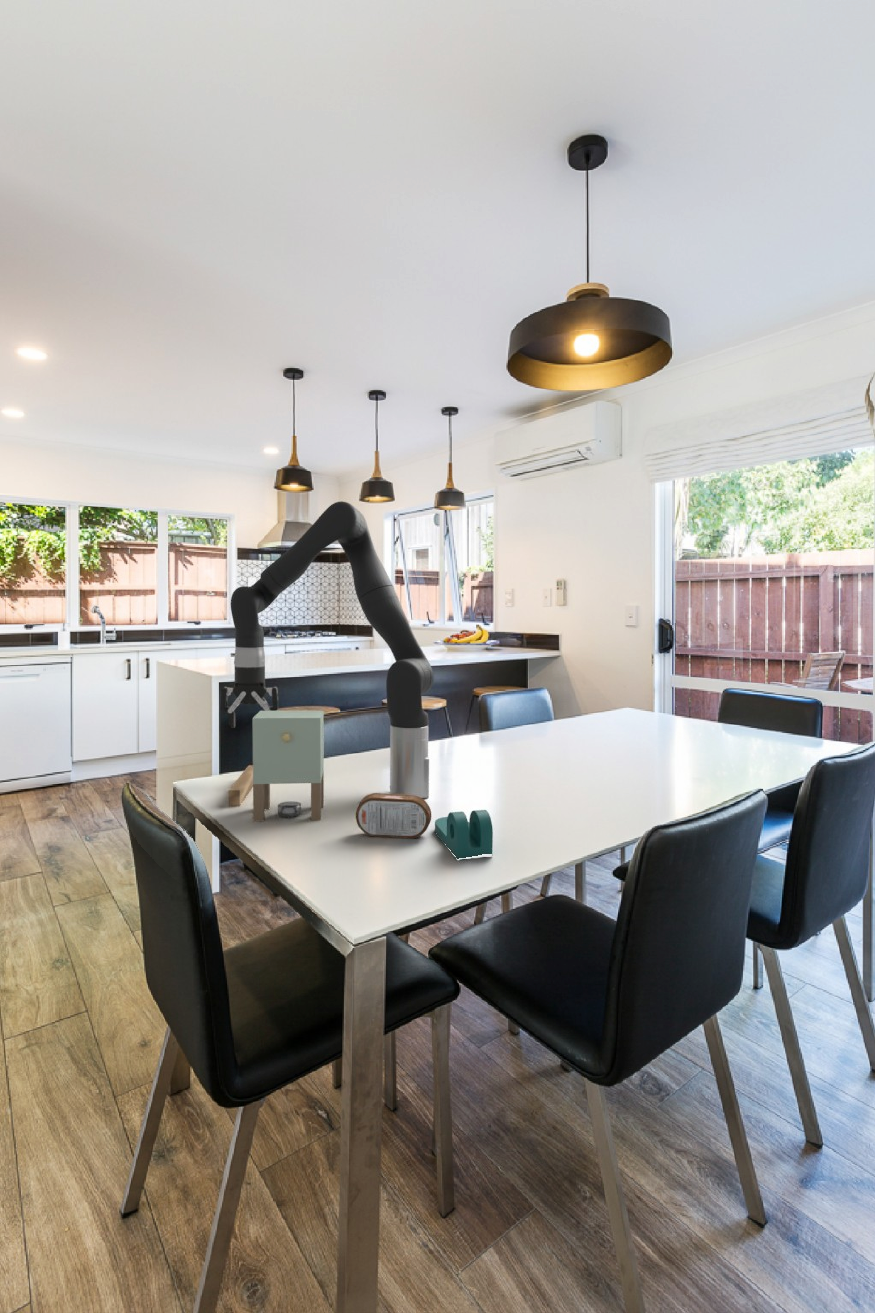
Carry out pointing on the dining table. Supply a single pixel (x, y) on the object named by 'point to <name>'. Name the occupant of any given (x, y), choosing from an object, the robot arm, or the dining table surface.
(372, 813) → the tin
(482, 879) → the dining table surface
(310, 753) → the cabinet
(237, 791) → the oak slat
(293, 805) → the steel token
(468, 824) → the bracket
